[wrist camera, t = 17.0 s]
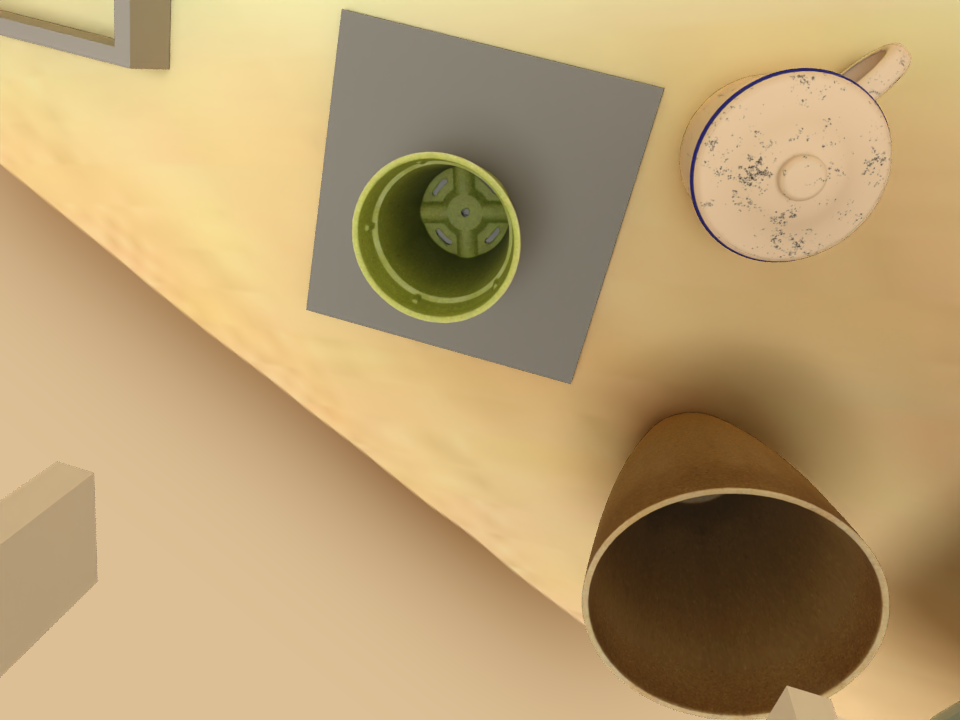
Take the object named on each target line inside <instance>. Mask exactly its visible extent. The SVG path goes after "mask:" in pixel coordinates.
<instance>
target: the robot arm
mask: <svg viewBox="0 0 960 720" xmlns="http://www.w3.org/2000/svg"><path fill="white" fill-rule="evenodd" d="M96 551H97V550H96V518H95V487H94V473H93V472H90V471H87V470H83V469H80V468H77V467H74V466H70V465H67V464H64V463H60V462H55V463H54V464H52V465H51V466H49V467H48V468H46V469H45V470H44V471H42V472H41V473H39V474H38V475H36V476H35V477H34V478H32V479H31V480H29V481H28V482H26V483H25V484H23V485H22V486H21V487H19V488H18V489H16V490H15V491H13V492H12V493H11V494H9V495H8V496H6V497H5V498H4V499H2V500H1V501H0V677H1V676H2V675H3V674H4V673H5V672H6V671H7V670H8V669H9V668H10V667H11V666H12V665H13V664H14V663H15V662H16V661H17V660H18V659H19V658H20V657H21V656H22V655H23V654H25V653H26V651H28V650H29V649H30V647H32V646H33V645H34V643H36V642H37V641H38V640H39V639H40V638H41V637H42V636H43V635H44V634H45V633H46V632H47V631H48V630H49V629H50V628H51V627H52V626H53V625H54V624H55V623H56V622H57V621H58V620H59V619H60V618H61V617H62V616H63V615H64V614H65V613H66V612H67V611H68V610H69V609H70V608H71V607H72V606H73V605H74V604H75V603H76V602H77V601H78V600H79V599H80V598H81V597H82V596H83V595H84V594H85V593H86V592H87V591H88V590H89V589H90V588H92V587H93V586H94V584H96V583H97V552H96ZM766 720H838V718H837V715H836V712H835V710H834V707H833V704H832V701H831V699H829V698H826V697H822V696H819V695H816V694H813V693H809V692H806V691H803V690H800V689H796V688H793V687H790V686H786V688H785V689H784V691H783V693H782V694H781V696H780V698H779V699H778V701H777V703H776V704H775V706H774V708H773V709H772V711H771V712H770V714H769V716H768V717H767V719H766ZM930 720H960V701H958V702H957V703H955V704H953V705H952V706H950V707H948V708H947V709H945V710H944V711H942V712H940V713H939V714H937V715H935V716H934V717H932V718H931V719H930Z"/></svg>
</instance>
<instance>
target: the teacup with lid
mask: <svg viewBox="0 0 960 720" xmlns="http://www.w3.org/2000/svg"><path fill="white" fill-rule="evenodd" d="M910 63H911V55H910V53H909V52H908V50H907V49H906V48H905V47H904V46H903V45H902V44H900V43H891V44H888V45H885V46H882V47H880V48H878V49H876V50H874V51H872V52H871V53H869V54H867V55H866V56H864V57H863V58H861V59H859V60H858V61H857V62H855V63H854V64H852V65H851V66H850V67H848V68H847V69H846V70H845V71H843V72H842V73H841V74H837V73H834V72H831V71H827V70H822V69H814V68H798V69H789V70H784V71H779V72H776V73H772V74H769V75H756V76H751V77H746V78H743V79H740V80H737V81H735V82H732V83H730V84H728V85H726V86H725V87H723V88H721V89H720V90H718V91H717V92H716V93H714V94H713V95H712V96H711V97H709V98H708V99H707V100H706V101H705V102H704V103H703V104H702V105H701V107H700V108H699V109H698V110H697V112H696V113H695V114H694V116H693V117H692V119H691V121H690V123H689V125H688V127H687V129H686V131H685V134H684V137H683V140H682V144H681V149H680V172H681V177H682V180H683V184H684V186H685V189H686V191H687V192H688V194H689V196H690V197H691V199H692V201H693V204H694V208H695V210H696V213H697V215H698V217H699V219H700V221H701V223H702V224H703V226H704V227H705V229H706V230H707V231H708V232H709V233H710V235H711V236H712V237H713V238H714V239H715V240H716V241H717V242H719V243H720V244H721V245H723V246H724V247H725V248H727V249H729V250H730V251H732V252H734V253H736V254H738V255H741V256H743V257H746V258H749V259H753V260H758V261H765V262H787V261H795V260H799V259H804V258H807V257H810V256H813V255H816V254H818V253H821V252H823V251H825V250H827V249H829V248H831V247H833V246H835V245H836V244H838V243H840V242H841V241H843V240H844V239H845V238H847V237H848V236H849V235H851V234H852V233H853V232H854V231H855V230H856V229H857V228H858V227H859V226H860V225H861V224H862V223H863V222H864V221H865V220H866V219H867V217H868V216H869V215H870V214H871V212H872V211H873V209H874V208H875V206H876V205H877V203H878V201H879V199H880V198H881V195H882V193H883V191H884V189H885V186H886V183H887V180H888V177H889V173H890V167H891V160H892V145H891V136H890V131H889V127H888V124H887V121H886V119H885V116H884V114H883V112H882V110H881V109H880V107H879V105H878V104H877V102H876V100H877V99H878V98H879V97H880V96H882V95H883V94H884V93H885V92H886V91H887V90H888V89H889V88H891V87H892V86H893V85H894V84H895V83H896V82H897V81H898V80H899V79H900V77H901V76H902V75H903V74H904V73H905V71H906V70H907V68H908V67H909V65H910Z"/></svg>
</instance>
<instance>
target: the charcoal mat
mask: <svg viewBox="0 0 960 720" xmlns="http://www.w3.org/2000/svg"><path fill="white" fill-rule="evenodd" d="M663 91H664V88H661V87H657V86H653V85H649V84H645V83H641V82H637V81H633V80H628V79H624V78H620V77H616V76H612V75H608V74H604V73H600V72H596V71H592V70H588V69H584V68H580V67H576V66H571V65H567V64H563V63H559V62H555V61H551V60H547V59H543V58H539V57H535V56H531V55H527V54H523V53H518V52H514V51H510V50H506V49H502V48H498V47H494V46H490V45H486V44H482V43H478V42H474V41H470V40H466V39H461V38H457V37H453V36H449V35H445V34H441V33H437V32H433V31H429V30H425V29H421V28H417V27H413V26H408V25H404V24H400V23H396V22H392V21H388V20H384V19H380V18H376V17H372V16H368V15H364V14H360V13H356V12H351V11H347V10H343V9H342V12H341V20H340V29H339V37H338V46H337V54H336V63H335V71H334V80H333V88H332V97H331V105H330V114H329V122H328V131H327V139H326V148H325V156H324V164H323V173H322V181H321V190H320V198H319V207H318V215H317V224H316V232H315V241H314V249H313V258H312V266H311V275H310V283H309V292H308V300H307V309H306V310H309V311H312V312H316V313H319V314H323V315H327V316H330V317H334V318H337V319H341V320H344V321H348V322H351V323H355V324H359V325H362V326H366V327H369V328H373V329H376V330H380V331H384V332H387V333H391V334H394V335H398V336H401V337H405V338H408V339H412V340H416V341H419V342H423V343H426V344H430V345H433V346H437V347H440V348H444V349H448V350H451V351H455V352H458V353H462V354H465V355H469V356H472V357H476V358H480V359H483V360H487V361H490V362H494V363H497V364H501V365H505V366H508V367H512V368H515V369H519V370H522V371H526V372H529V373H533V374H537V375H540V376H544V377H547V378H551V379H554V380H558V381H561V382H565V383H569V384H571V382H572V379H573V375H574V372H575V369H576V366H577V363H578V360H579V356H580V353H581V350H582V347H583V344H584V341H585V337H586V334H587V331H588V328H589V325H590V322H591V318H592V315H593V312H594V309H595V306H596V303H597V299H598V296H599V293H600V290H601V287H602V284H603V280H604V277H605V274H606V271H607V268H608V265H609V261H610V258H611V255H612V252H613V249H614V246H615V243H616V239H617V236H618V233H619V230H620V227H621V224H622V220H623V217H624V214H625V211H626V208H627V205H628V201H629V198H630V195H631V192H632V189H633V186H634V182H635V179H636V176H637V173H638V170H639V167H640V163H641V160H642V157H643V154H644V151H645V148H646V144H647V141H648V138H649V135H650V132H651V129H652V125H653V122H654V119H655V116H656V113H657V110H658V106H659V103H660V100H661V97H662V94H663ZM419 152H442V153H448V154H452V155H456V156H459V157H462V158H464V159H466V160H469V161H471V162H473V163H474V164H476V165H478V166H479V167H481V168H484V169H486V170H487V171H489V172H490V173H492V174H493V175H494V176H496V177H497V178H498V179H499V181H500V182H501V183H502V184H503V186H504V187H505V189H506V191H507V193H508V196H509V198H510V201H511V203H512V205H513V207H514V209H515V212H516V215H517V218H518V222H519V227H520V234H521V251H520V258H519V263H518V266H517V270H516V273H515V275H514V278H513V280H512V282H511V284H510V285H509V287H508V289H507V290H506V292H505V293H504V294H503V295H502V297H501V298H500V299H499V300H498V301H497V302H496V303H495V304H494V305H492V306H491V307H490V308H489V309H487V310H486V311H484V312H483V313H481V314H479V315H477V316H475V317H472V318H470V319H467V320H463V321H459V322H452V323H438V322H429V321H424V320H420V319H417V318H414V317H411V316H409V315H406V314H404V313H402V312H400V311H399V310H397V309H395V308H394V307H392V306H391V305H390V304H388V303H387V302H386V301H385V300H384V299H382V298H381V297H380V296H379V295H378V294H377V293H376V292H375V291H374V289H373V288H372V287H371V286H370V284H369V283H368V282H367V280H366V278H365V277H364V275H363V273H362V271H361V269H360V267H359V265H358V262H357V259H356V256H355V252H354V248H353V242H352V220H353V215H354V211H355V207H356V204H357V202H358V199H359V197H360V195H361V193H362V191H363V189H364V187H365V186H366V185H367V183H368V182H369V181H370V179H371V178H372V177H373V176H374V175H375V174H376V173H377V172H378V171H379V170H380V169H381V168H383V167H384V166H385V165H387V164H388V163H390V162H392V161H394V160H396V159H398V158H400V157H403V156H406V155H409V154H413V153H419ZM480 180H481V181H482V182H483V183H484V184H486V185H487V186H488V187H489V189H490V190H491V191H492V192H493V194H496V193H495V192H494V191H493V190H492V188H491V187H490V186H489V185H488V184H487V183H486V182H484V181H483V180H482V179H480ZM446 183H447V180H446V179H443V180H442V181H440V182H439V183H438V185H437V187H436V188H435V190H434V191H433V196H436V195H437V193H438V192H439V191H440V189H441V188H442V187H443V186H444V185H445V184H446ZM461 213H462V215H463V216H464V217H466V216H468V215H469V210H468V209H463V211H462V212H461ZM436 232H437V234H438V236H439V237H440V238H441V239H442V240H443V241H444V242H445V243H447V244H452V241H451V240H450V239H448V238H447V237H446V236H445V235H444V234H443V233H442V231H441V230H440V229H436ZM498 233H499V228H496V229H495V231H494V232H493V233H492V234H491V235H490V236H489V237H488V238H487V239H486V240H485V243H490V242H491V241H493V239H494V238H495V237H496V236H497V235H498Z"/></svg>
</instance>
